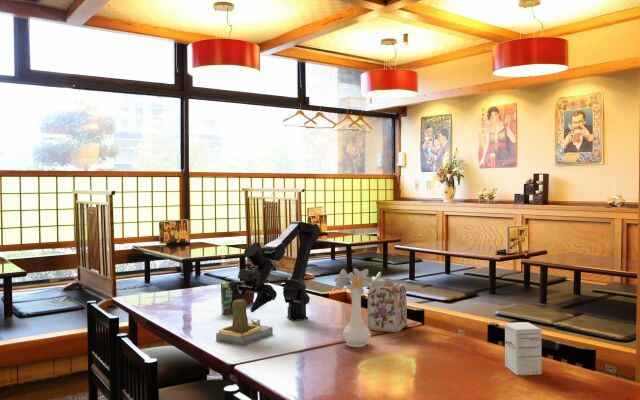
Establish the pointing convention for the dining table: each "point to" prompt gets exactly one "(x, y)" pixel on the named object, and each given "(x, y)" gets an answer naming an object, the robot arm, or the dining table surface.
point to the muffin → (248, 295)
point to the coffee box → (226, 299)
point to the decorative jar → (387, 307)
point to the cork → (240, 316)
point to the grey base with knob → (244, 334)
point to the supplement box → (523, 348)
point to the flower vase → (357, 304)
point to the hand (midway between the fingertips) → (241, 310)
